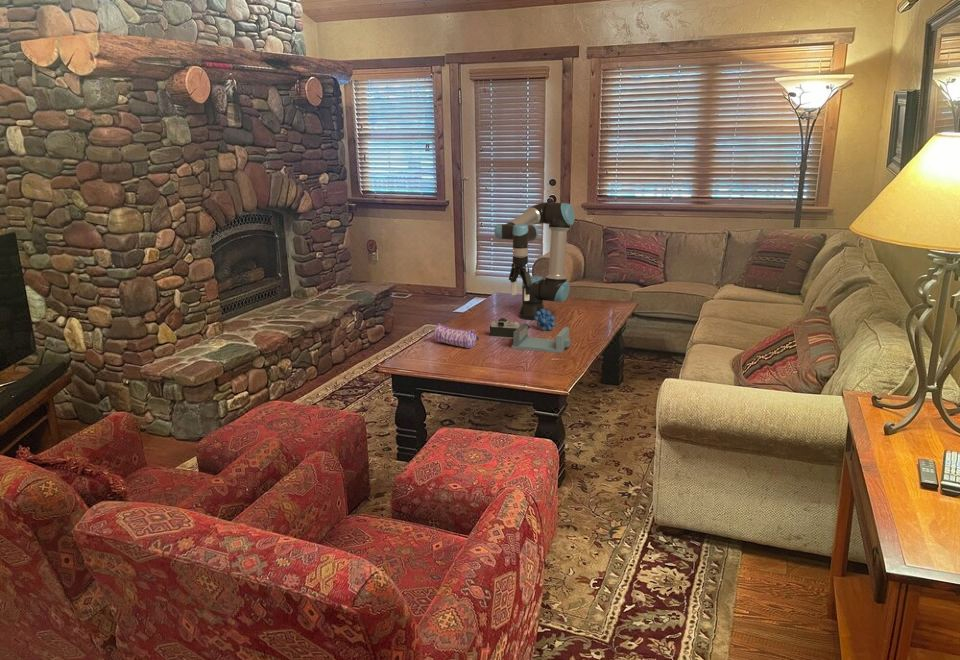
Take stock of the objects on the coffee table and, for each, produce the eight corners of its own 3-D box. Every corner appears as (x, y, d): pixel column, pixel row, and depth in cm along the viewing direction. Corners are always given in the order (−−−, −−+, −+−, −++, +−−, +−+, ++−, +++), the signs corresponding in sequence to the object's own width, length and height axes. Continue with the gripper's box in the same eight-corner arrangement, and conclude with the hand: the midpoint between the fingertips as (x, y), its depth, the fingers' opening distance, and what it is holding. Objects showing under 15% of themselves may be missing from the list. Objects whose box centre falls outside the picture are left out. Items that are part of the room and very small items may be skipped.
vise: (521, 339, 361) (521, 323, 358) (572, 344, 352) (573, 327, 349) (511, 348, 346) (511, 331, 344) (565, 353, 337) (565, 336, 335)
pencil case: (479, 345, 352) (479, 327, 349) (469, 350, 344) (469, 332, 341) (442, 339, 362) (441, 321, 360) (432, 344, 355) (431, 326, 352)
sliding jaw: (526, 333, 365) (526, 320, 364) (531, 333, 364) (531, 320, 363) (513, 345, 346) (513, 332, 344) (519, 345, 345) (519, 332, 343)
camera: (522, 334, 369) (522, 316, 366) (518, 339, 361) (518, 320, 358) (493, 332, 373) (492, 314, 370) (488, 337, 365) (488, 318, 362)
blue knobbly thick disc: (531, 331, 374) (532, 309, 370) (535, 328, 380) (535, 306, 376) (553, 333, 370) (553, 311, 366) (556, 330, 376) (557, 308, 372)
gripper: (502, 252, 357) (502, 293, 363) (525, 260, 335) (525, 304, 341) (515, 251, 360) (515, 291, 366) (539, 259, 338) (538, 302, 344)
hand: (520, 297), depth 354 cm, fingers open, 13 cm apart
